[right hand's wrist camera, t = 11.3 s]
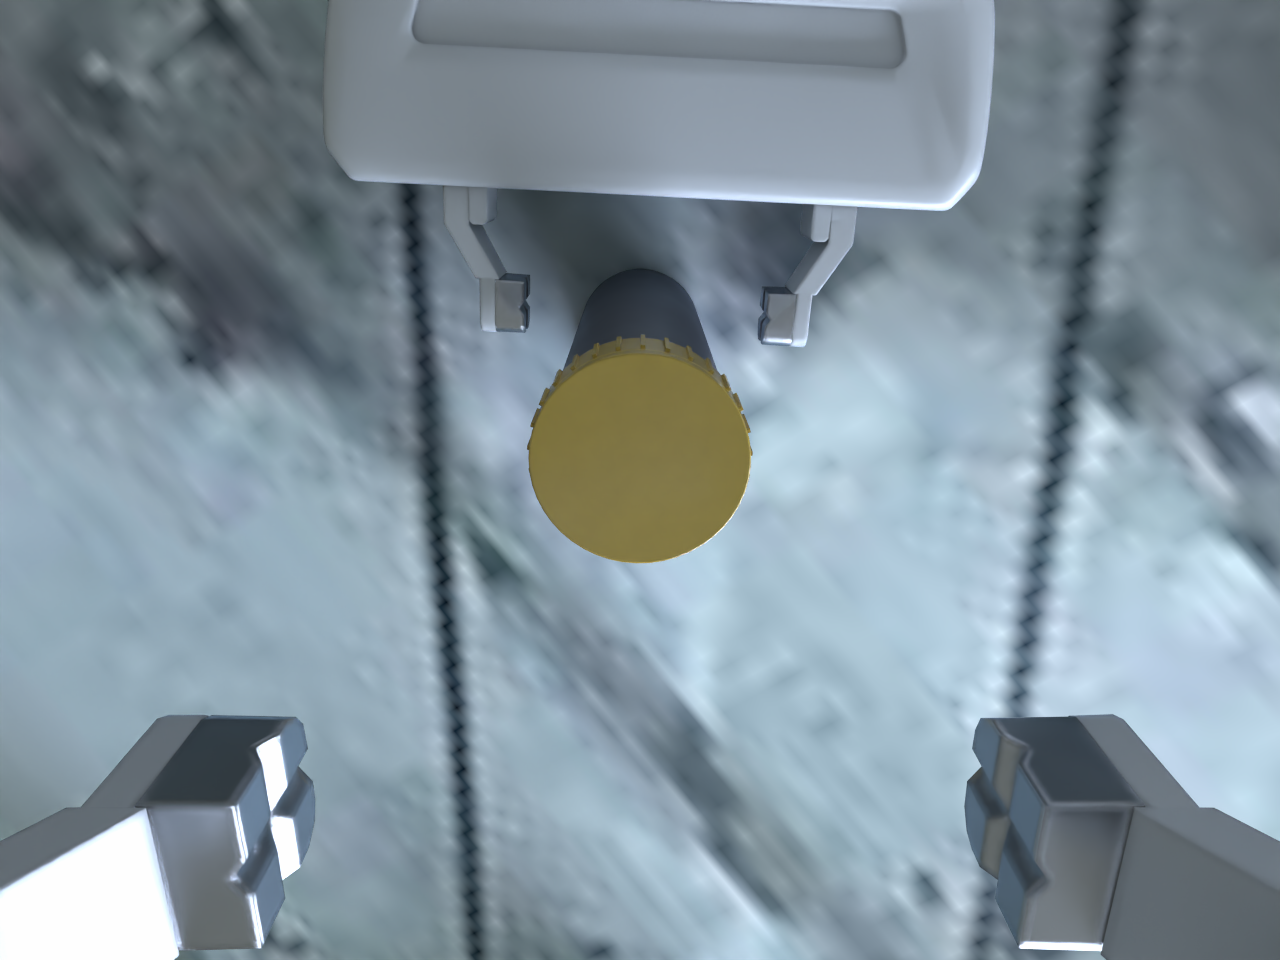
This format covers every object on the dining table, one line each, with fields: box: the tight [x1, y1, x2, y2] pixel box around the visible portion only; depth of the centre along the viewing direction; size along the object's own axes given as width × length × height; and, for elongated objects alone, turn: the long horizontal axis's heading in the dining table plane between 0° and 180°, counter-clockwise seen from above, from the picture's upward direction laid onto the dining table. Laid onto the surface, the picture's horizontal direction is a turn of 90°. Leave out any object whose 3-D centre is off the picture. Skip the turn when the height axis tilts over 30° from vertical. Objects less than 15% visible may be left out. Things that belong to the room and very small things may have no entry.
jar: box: [563, 269, 717, 370], centre depth 28 cm, size 5×5×16 cm
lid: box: [527, 334, 752, 563], centre depth 21 cm, size 5×5×2 cm
